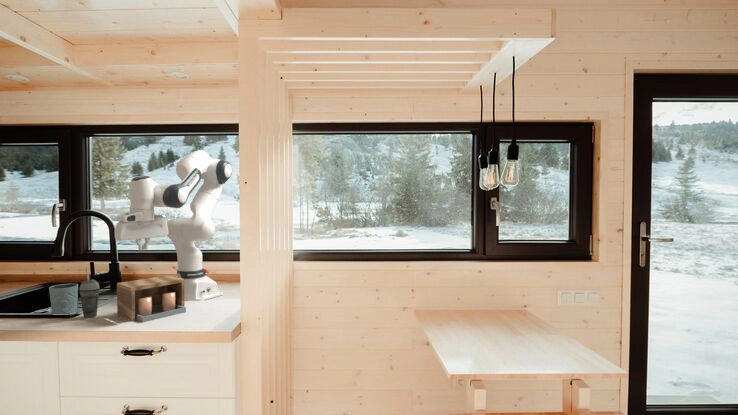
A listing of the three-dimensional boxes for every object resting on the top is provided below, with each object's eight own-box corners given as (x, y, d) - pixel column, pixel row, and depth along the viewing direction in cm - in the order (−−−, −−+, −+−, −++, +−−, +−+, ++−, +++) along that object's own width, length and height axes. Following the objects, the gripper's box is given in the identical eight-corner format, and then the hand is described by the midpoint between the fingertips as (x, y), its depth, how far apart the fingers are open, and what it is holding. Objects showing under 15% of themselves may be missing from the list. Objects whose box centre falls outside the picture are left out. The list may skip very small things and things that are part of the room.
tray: (167, 307, 191) (167, 301, 191) (185, 313, 182) (185, 307, 182) (125, 316, 177) (125, 310, 177) (142, 323, 168) (142, 317, 168)
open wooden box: (169, 305, 194) (168, 275, 194) (184, 310, 187) (184, 278, 186) (117, 316, 177) (116, 283, 176) (131, 322, 169) (131, 287, 168)
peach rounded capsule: (148, 314, 178) (148, 295, 178) (154, 316, 175) (153, 297, 175) (135, 317, 174) (135, 297, 174) (141, 319, 171) (141, 299, 171)
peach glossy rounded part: (171, 309, 186) (171, 291, 186) (177, 311, 183) (177, 292, 183) (160, 311, 182) (160, 293, 182) (166, 313, 179) (166, 295, 179)
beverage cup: (90, 320, 172) (89, 270, 171) (74, 318, 173) (74, 269, 173) (104, 314, 179) (104, 267, 178) (90, 313, 181) (89, 266, 180)
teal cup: (64, 318, 174) (63, 289, 174) (43, 316, 176) (42, 287, 175) (84, 311, 184) (84, 283, 184) (64, 309, 186) (63, 282, 185)
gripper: (163, 214, 184) (163, 246, 185) (112, 217, 168) (113, 252, 168) (170, 214, 181) (171, 247, 181) (119, 217, 164) (120, 253, 165)
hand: (143, 249), depth 175 cm, fingers closed
